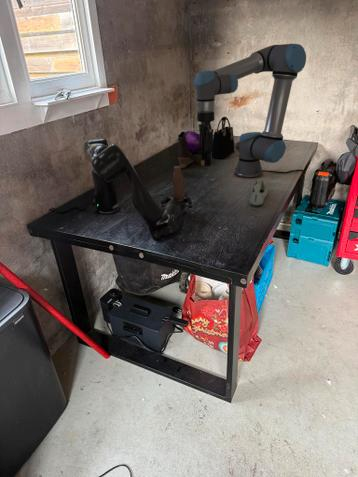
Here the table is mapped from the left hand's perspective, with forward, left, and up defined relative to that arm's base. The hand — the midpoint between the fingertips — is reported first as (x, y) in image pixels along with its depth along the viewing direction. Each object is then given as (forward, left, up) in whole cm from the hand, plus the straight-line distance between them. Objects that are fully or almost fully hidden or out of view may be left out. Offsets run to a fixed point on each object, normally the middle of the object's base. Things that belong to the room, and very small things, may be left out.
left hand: (179, 195), depth 150 cm
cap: (+11, +13, +12) cm, 20 cm away
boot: (-8, +70, -7) cm, 71 cm away
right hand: (+11, +13, +11) cm, 20 cm away
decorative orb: (-8, +93, -7) cm, 94 cm away
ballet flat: (+36, +16, -7) cm, 40 cm away
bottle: (0, -3, -7) cm, 7 cm away
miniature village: (+38, +110, -7) cm, 117 cm away
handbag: (+15, +88, -7) cm, 89 cm away
